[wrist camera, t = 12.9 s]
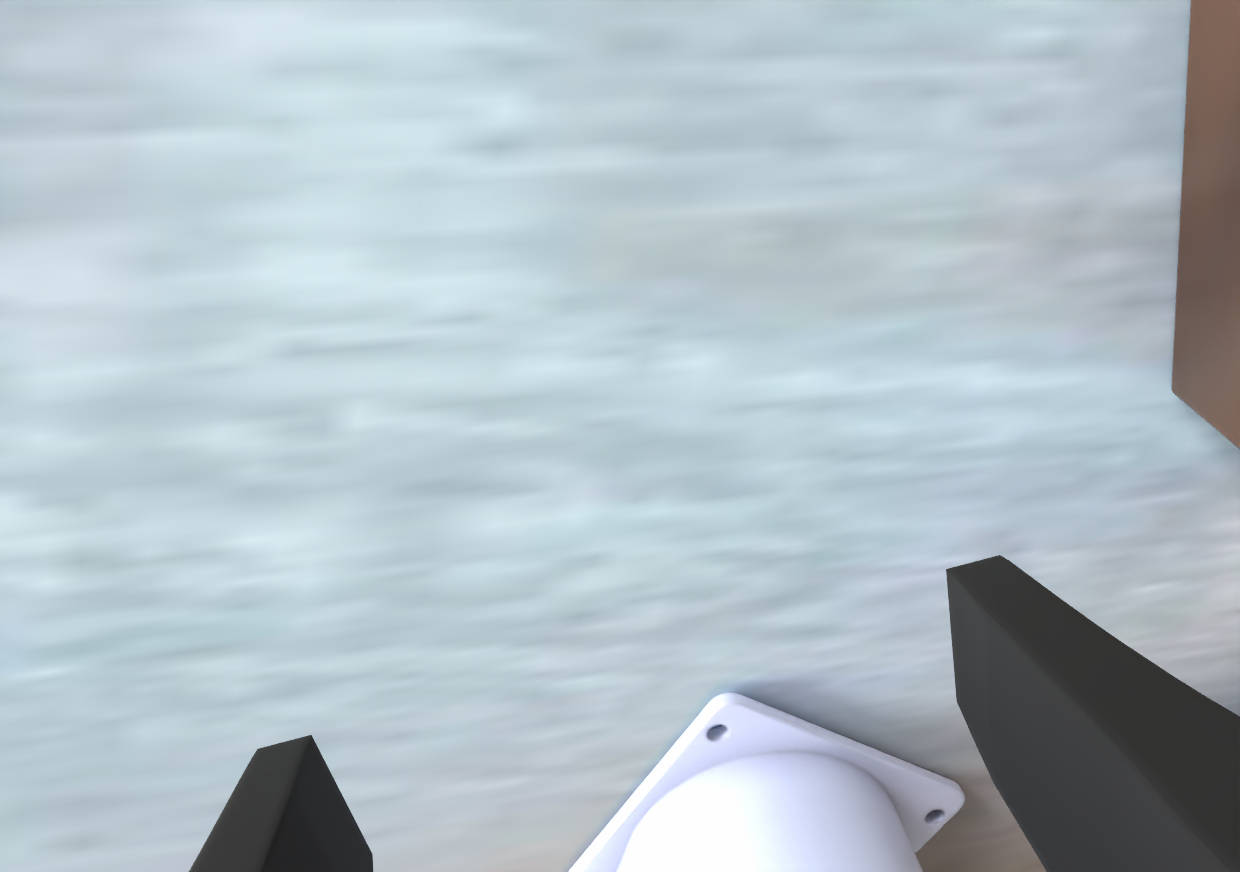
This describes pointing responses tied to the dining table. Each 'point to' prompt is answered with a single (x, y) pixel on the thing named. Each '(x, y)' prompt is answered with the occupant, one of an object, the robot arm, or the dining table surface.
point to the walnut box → (1210, 222)
